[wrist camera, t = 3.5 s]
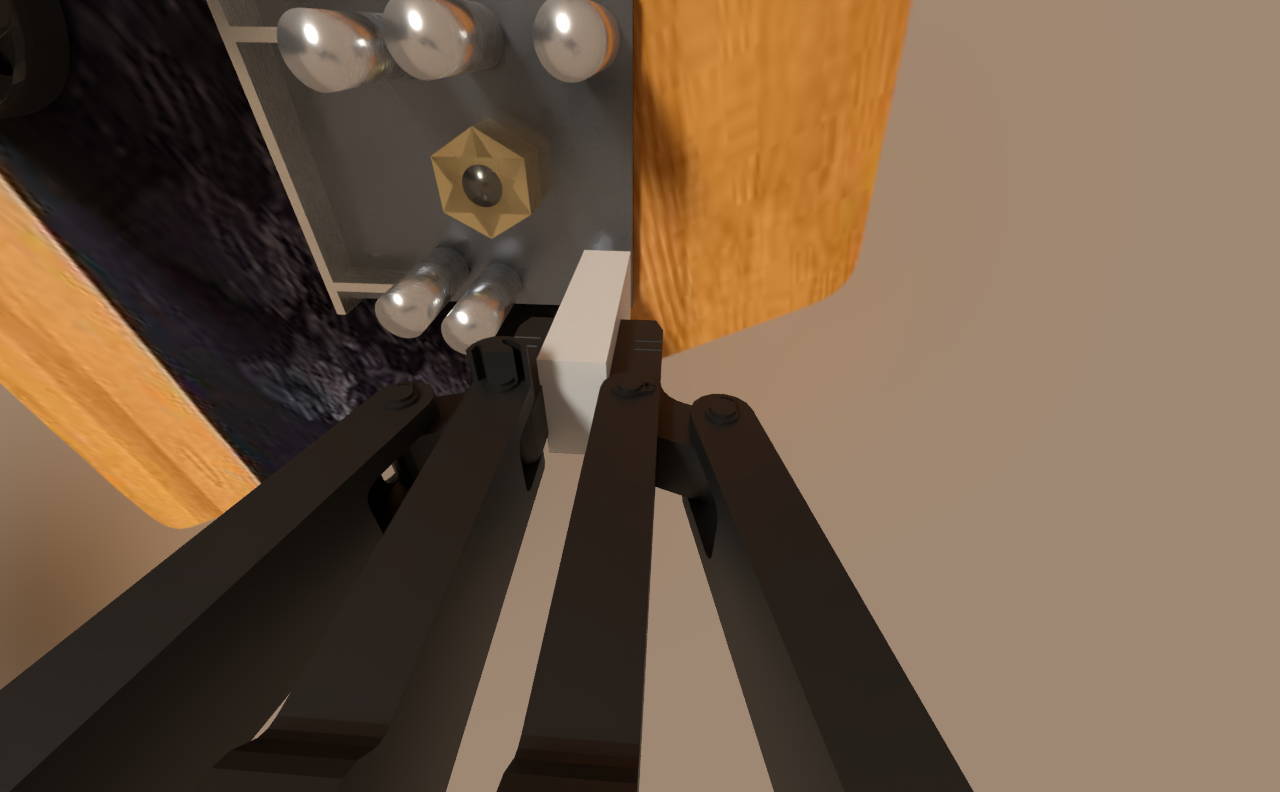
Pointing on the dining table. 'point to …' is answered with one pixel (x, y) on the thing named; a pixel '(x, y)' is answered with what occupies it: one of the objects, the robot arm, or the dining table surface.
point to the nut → (488, 178)
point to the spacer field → (440, 142)
